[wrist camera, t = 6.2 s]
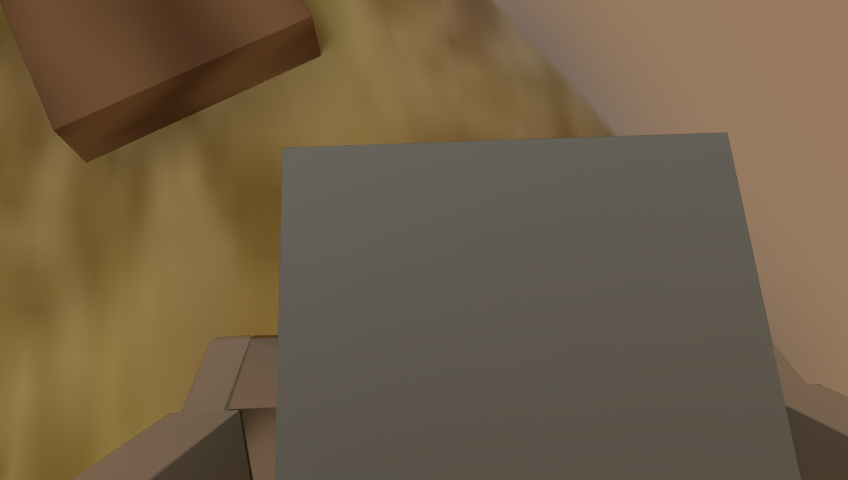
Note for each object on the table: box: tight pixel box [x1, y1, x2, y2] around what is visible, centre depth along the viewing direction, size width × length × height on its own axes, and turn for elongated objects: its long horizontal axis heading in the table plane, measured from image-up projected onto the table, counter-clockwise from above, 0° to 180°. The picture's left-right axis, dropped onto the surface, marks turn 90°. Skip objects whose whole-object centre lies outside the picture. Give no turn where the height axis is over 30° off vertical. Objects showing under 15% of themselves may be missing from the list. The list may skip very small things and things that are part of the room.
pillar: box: [275, 133, 801, 480], centre depth 10 cm, size 4×4×9 cm
